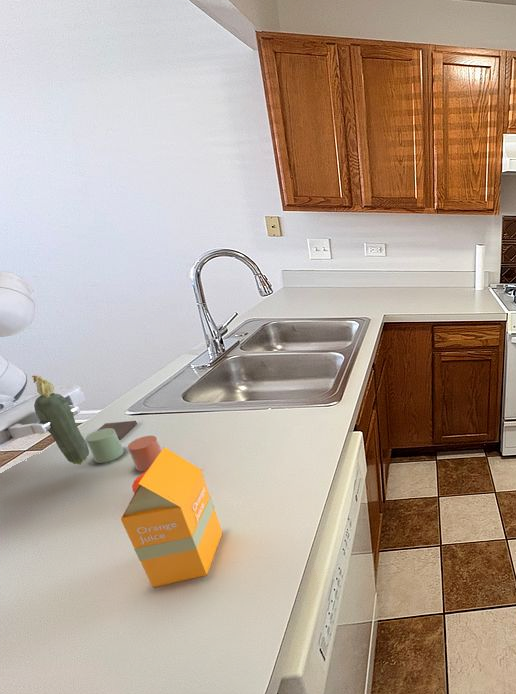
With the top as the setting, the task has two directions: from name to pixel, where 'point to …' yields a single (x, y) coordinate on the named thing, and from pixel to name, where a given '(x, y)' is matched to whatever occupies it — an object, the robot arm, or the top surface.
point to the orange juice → (172, 521)
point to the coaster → (120, 427)
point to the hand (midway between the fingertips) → (61, 418)
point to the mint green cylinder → (104, 445)
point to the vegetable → (60, 421)
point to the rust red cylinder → (144, 452)
